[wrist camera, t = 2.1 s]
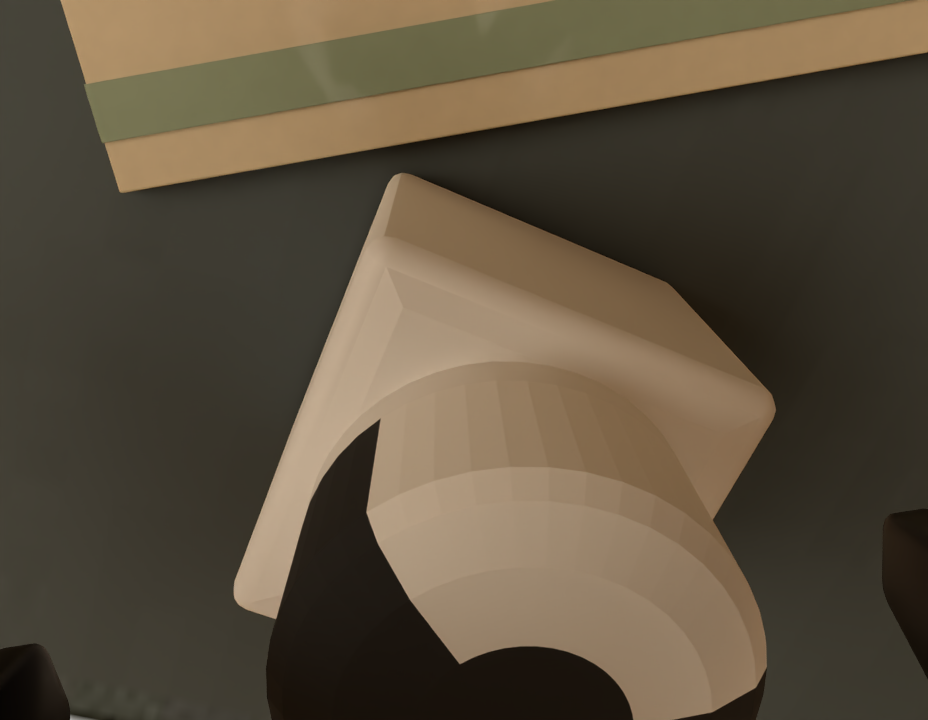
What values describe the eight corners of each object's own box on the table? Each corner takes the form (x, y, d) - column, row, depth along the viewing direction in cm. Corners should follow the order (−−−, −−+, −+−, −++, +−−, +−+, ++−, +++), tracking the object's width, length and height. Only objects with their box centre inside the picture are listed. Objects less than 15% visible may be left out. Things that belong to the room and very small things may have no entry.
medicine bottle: (548, 526, 23) (656, 1010, 11) (290, 432, 21) (126, 867, 10) (676, 283, 20) (967, 589, 9) (395, 164, 19) (332, 347, 8)
